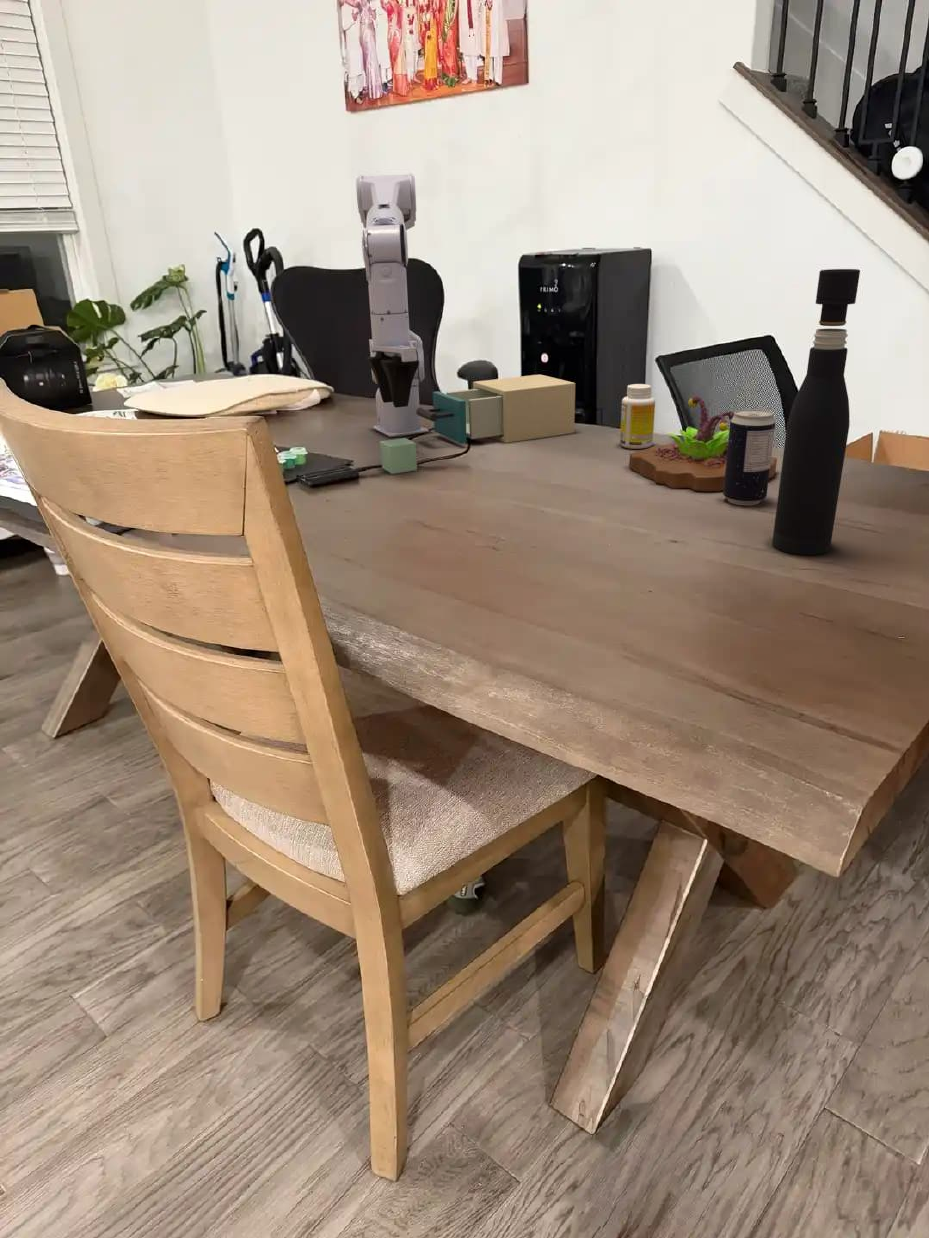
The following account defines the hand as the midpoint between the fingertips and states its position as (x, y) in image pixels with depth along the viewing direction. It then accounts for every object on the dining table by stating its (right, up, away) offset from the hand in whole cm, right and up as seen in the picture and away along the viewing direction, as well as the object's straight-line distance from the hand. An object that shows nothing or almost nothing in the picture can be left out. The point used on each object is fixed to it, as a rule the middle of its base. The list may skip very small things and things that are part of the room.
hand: (395, 404), depth 133 cm
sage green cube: (0, -9, +4) cm, 10 cm away
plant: (+47, -11, -3) cm, 49 cm away
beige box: (+22, +2, +27) cm, 35 cm away
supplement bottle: (+41, -4, +14) cm, 43 cm away
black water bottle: (+50, -25, -34) cm, 66 cm away
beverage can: (+49, -18, -17) cm, 55 cm away
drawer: (+12, 0, +22) cm, 25 cm away
